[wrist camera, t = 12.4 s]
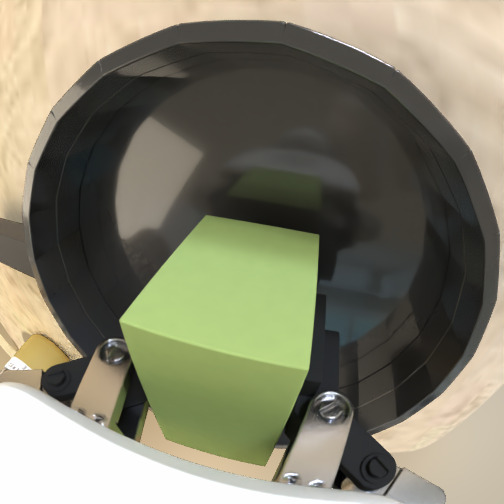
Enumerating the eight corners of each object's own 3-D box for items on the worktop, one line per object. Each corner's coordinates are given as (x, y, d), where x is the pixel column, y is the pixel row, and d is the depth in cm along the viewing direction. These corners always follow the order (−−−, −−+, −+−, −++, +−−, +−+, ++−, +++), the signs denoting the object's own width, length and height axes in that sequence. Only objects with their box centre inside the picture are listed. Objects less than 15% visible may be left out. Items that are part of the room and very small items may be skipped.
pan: (504, 114, 7) (569, 132, 3) (369, 411, 17) (368, 461, 13) (66, 69, 10) (1, 77, 6) (114, 350, 20) (88, 388, 16)
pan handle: (61, 233, 13) (41, 248, 11) (71, 270, 14) (53, 286, 13) (-16, 213, 14) (-31, 222, 13) (-8, 241, 16) (-22, 251, 14)
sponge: (319, 234, 10) (309, 369, 5) (287, 362, 13) (265, 466, 9) (205, 214, 10) (117, 319, 6) (207, 344, 14) (165, 439, 9)
